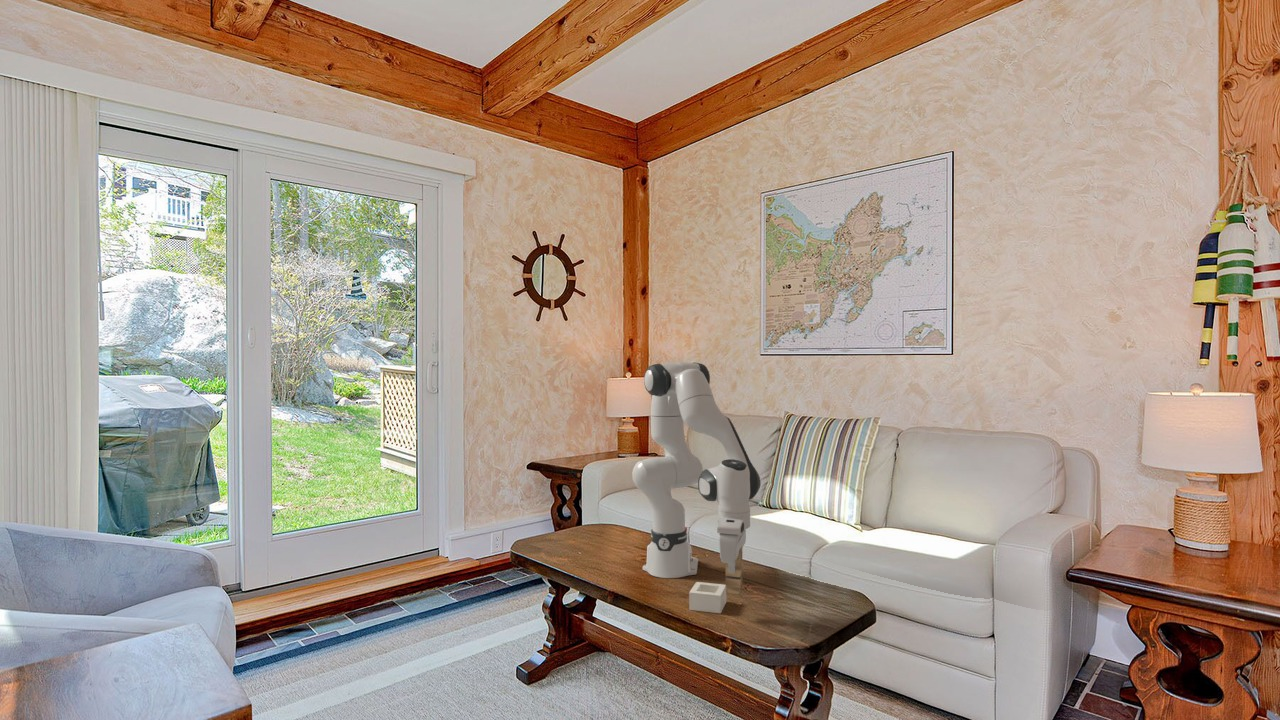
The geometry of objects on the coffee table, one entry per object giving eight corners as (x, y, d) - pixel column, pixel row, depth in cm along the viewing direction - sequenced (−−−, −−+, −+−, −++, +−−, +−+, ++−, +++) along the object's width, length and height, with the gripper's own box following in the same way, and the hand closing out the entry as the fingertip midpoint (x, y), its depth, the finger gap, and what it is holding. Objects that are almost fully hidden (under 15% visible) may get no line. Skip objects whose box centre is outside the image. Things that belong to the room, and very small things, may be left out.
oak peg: (728, 587, 179) (728, 545, 179) (742, 589, 178) (742, 546, 178) (725, 593, 175) (725, 549, 175) (740, 594, 174) (740, 551, 174)
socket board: (696, 598, 190) (696, 581, 190) (726, 601, 187) (726, 584, 187) (689, 609, 182) (689, 592, 182) (720, 613, 179) (720, 595, 179)
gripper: (729, 509, 187) (729, 556, 187) (715, 528, 168) (715, 580, 168) (751, 511, 185) (750, 558, 185) (739, 530, 166) (739, 583, 166)
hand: (733, 569), depth 176 cm, fingers closed on oak peg, 4 cm apart
